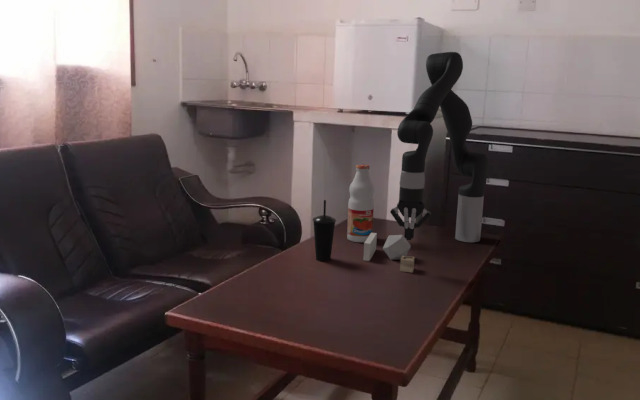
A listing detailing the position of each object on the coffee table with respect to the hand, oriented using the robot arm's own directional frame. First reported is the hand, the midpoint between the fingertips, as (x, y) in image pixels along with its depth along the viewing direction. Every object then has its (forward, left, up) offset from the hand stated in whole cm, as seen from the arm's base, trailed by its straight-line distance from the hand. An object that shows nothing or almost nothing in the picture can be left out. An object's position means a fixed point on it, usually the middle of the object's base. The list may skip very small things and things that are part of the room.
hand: (408, 239), depth 193 cm
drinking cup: (-2, -28, -10) cm, 30 cm away
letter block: (0, 0, -10) cm, 10 cm away
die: (-11, -5, -10) cm, 16 cm away
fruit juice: (-30, -21, -10) cm, 38 cm away
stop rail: (-12, -14, -10) cm, 21 cm away
